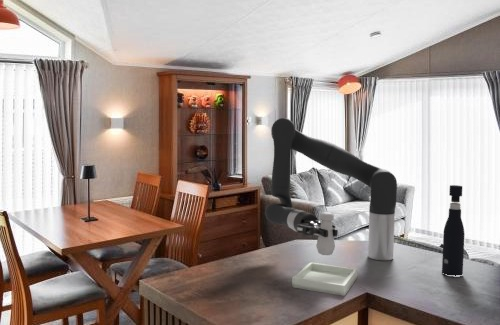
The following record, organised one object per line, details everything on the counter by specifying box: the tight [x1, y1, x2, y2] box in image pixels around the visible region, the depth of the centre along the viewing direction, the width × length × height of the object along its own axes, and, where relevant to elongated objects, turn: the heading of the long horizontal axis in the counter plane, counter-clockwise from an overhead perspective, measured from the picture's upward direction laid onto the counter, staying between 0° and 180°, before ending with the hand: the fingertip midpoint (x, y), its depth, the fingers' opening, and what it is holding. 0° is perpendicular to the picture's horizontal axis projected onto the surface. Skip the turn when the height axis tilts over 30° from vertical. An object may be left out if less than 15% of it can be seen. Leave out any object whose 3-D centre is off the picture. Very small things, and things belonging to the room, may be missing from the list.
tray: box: [291, 261, 358, 297], centre depth 143 cm, size 18×16×3 cm
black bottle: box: [441, 184, 465, 276], centre depth 151 cm, size 6×6×30 cm
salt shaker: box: [316, 211, 336, 256], centre depth 142 cm, size 6×6×13 cm
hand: (331, 233), depth 139 cm, fingers closed on salt shaker, 3 cm apart
